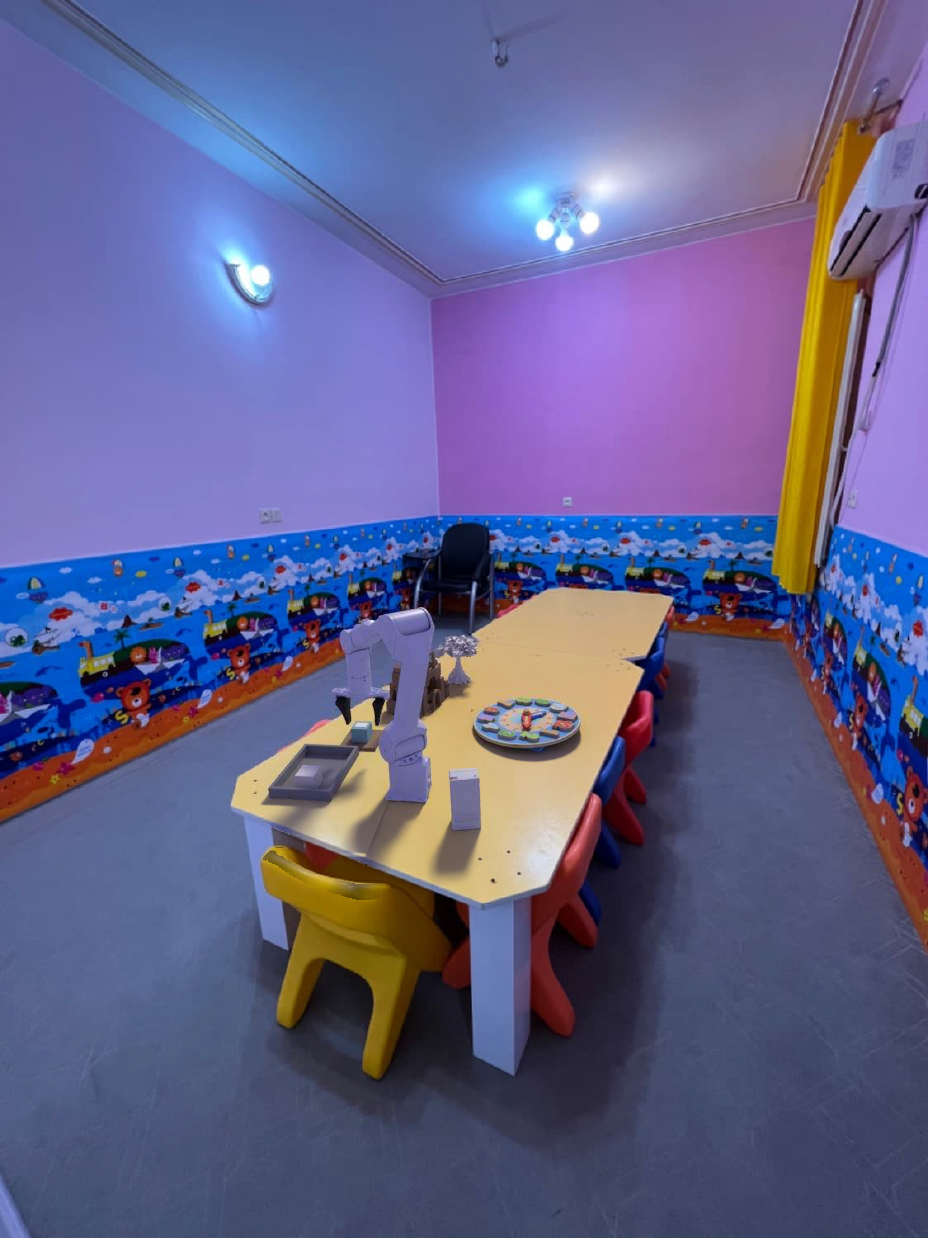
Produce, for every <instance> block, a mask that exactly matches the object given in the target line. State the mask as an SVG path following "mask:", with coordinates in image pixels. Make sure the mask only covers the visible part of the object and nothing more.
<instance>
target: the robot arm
mask: <svg viewBox="0 0 928 1238" xmlns="http://www.w3.org/2000/svg"><path fill="white" fill-rule="evenodd" d="M360 622H361V623H357V624H354V625H353V628H349V629H343V630H342V631H341V632H340V634H339V643H340V646H341V649H342V650H343V652H344V653H345V662H346V675H347V684H348V685H347V687H339V688H338V687H337V688H333V689H332V690H331V699H335V702H334V704H335V706H336V708H337V709H338V710H339V711H340V713H341V715H342V717H343V720H344V722H345V725H346V726H350V724H351V722H352V711H351V699H374V700H373V702H372V703H371V706H372V710H373V714H374V725H375V727H379V725H380V723H381V716H382V712H383V709H384V705H385V704H386V702H387V700H388V699H389V697H390V691H389V690H390V689H383V688H378V687H373V686H372V671H371V659H370V658H371V656H372V648H373V646H374V645H376V644H378V643H379V642H381V641H383V643H384V645H385V647H386V648H387V651H388V652H389V654H390V656H391V658H392V659H393V660H395V661H398V662H401V663H402V665H401V664H400V665H401V672H400V679H399V686H398V693H397V700H396V706H395V713H394V716H393V719H392V720H391V721H390V722H389V723H388V724H387V725H386V726H385V727H384V728H383V729H382V730H383V733H382V736H381V737H380V739H379V743H378V751H379V754H380V757H381V758H382V759H383V760H384V761H385V762H386V763H388V765H387V766H388V778H389V787H388V789H387V791H386V794H385V797H384V799H385V800H388V801H393V802H395V801H396V802H409V803H410V802H411V803H413V802H414V803H426V802H427V800H428V797H429V794H430V790H431V787H432V783H433V781H432V766H431V763H432V761H431V758H430V756H427V755H423V751H424V750H426V748H427V746H428V736H427V730H428V729H427V726H426V725H425V723H424V722H423V720H422V719H421V718H420V717H419V714H420V709H421V703H422V698H423V692H424V686H425V681H426V675H427V670H428V664H429V658H430V656H429V651H432V645H433V639H434V633H435V628H436V627H435V624H434V622H433V619H432V616H431V613H429V611H428V610H427V609H426V608H425V607H417V608H414V609H408V610H407V609H406V610H402V611H397V612H391V613H388V614H387V613H385V614H383V615H378V618H377V619H375V620H373V619H369V618H364V619H362V620H360Z"/></svg>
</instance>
